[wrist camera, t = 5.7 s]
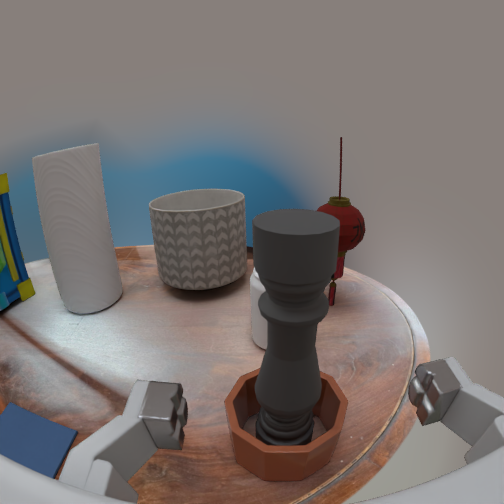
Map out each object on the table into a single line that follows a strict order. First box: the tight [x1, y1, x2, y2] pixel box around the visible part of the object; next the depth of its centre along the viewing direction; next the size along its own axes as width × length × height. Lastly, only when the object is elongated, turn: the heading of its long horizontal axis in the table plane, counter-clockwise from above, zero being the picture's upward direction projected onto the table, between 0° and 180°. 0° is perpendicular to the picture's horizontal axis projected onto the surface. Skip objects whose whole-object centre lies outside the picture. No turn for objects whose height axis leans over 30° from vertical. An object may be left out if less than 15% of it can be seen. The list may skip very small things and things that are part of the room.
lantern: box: [317, 137, 365, 306], centre depth 49 cm, size 10×10×30 cm
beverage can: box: [250, 267, 267, 349], centre depth 44 cm, size 8×8×12 cm
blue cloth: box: [0, 402, 78, 479], centre depth 22 cm, size 12×14×1 cm
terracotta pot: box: [224, 368, 348, 481], centre depth 28 cm, size 12×12×7 cm
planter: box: [149, 189, 247, 290], centre depth 62 cm, size 19×19×18 cm
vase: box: [32, 143, 122, 314], centre depth 52 cm, size 14×14×32 cm
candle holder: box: [252, 209, 340, 446], centre depth 24 cm, size 6×6×25 cm
